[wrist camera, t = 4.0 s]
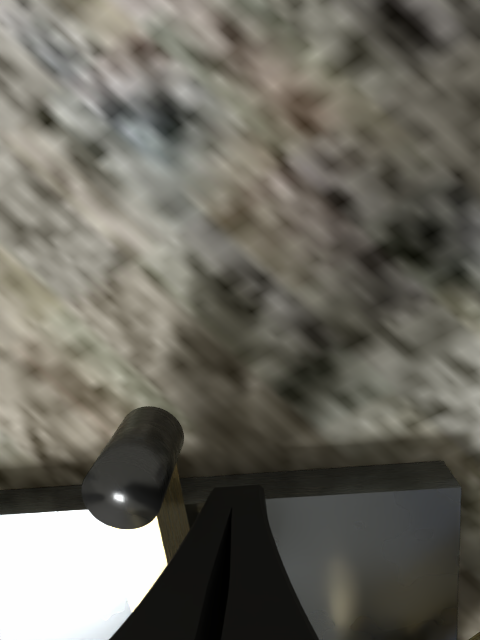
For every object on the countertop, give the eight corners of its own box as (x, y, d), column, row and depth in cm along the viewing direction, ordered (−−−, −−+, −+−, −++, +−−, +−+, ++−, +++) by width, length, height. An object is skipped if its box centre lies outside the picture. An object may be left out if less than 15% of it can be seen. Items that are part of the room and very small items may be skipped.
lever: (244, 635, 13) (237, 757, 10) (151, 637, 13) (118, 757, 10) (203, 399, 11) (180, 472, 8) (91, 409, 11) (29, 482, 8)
